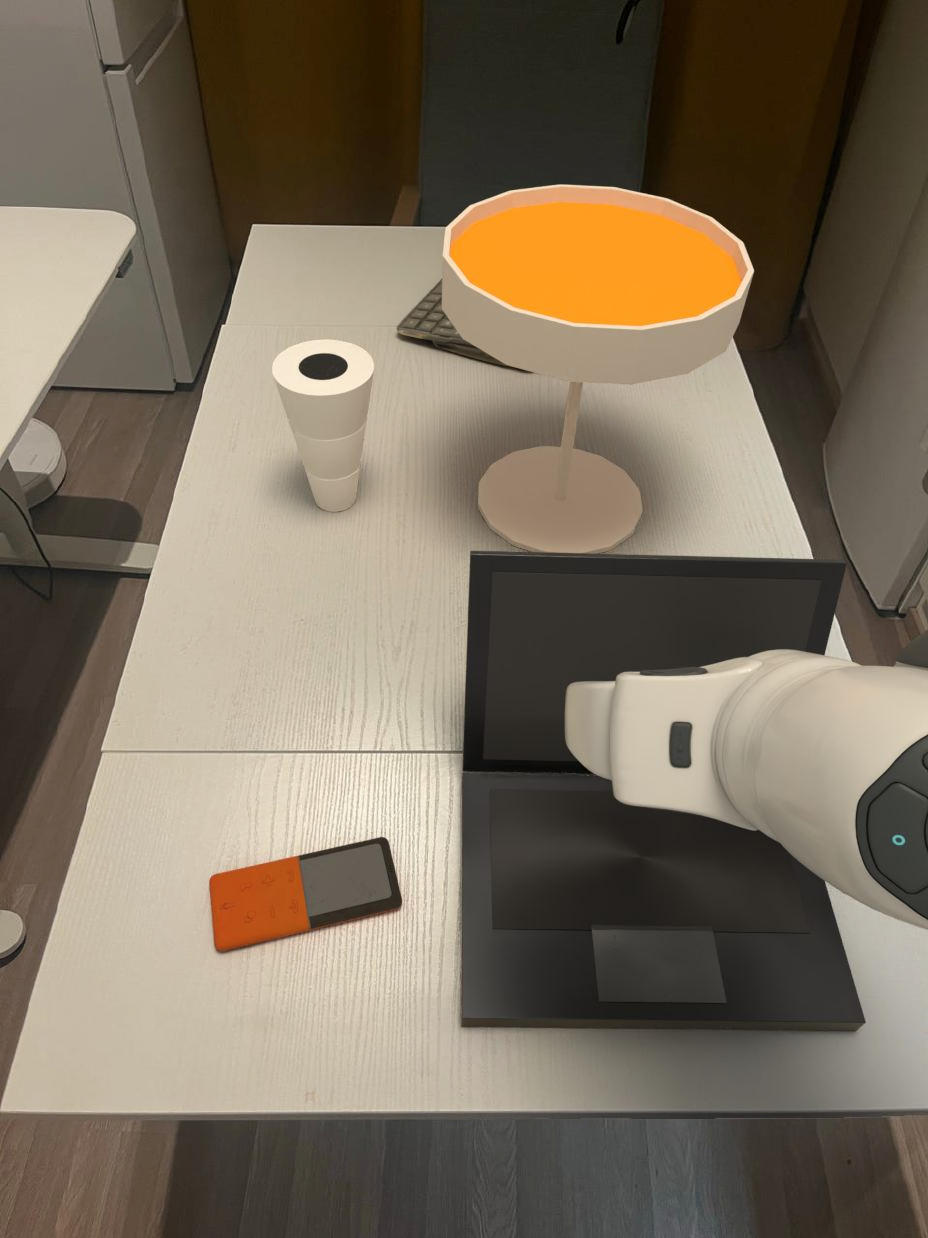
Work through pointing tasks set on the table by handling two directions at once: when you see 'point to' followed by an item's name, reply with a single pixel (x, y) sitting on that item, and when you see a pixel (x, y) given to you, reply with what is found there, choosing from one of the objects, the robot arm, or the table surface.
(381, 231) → the table surface
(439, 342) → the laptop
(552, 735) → the notebook screen
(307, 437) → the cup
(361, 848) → the phone
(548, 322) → the cream stemmed bowl
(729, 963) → the notebook
